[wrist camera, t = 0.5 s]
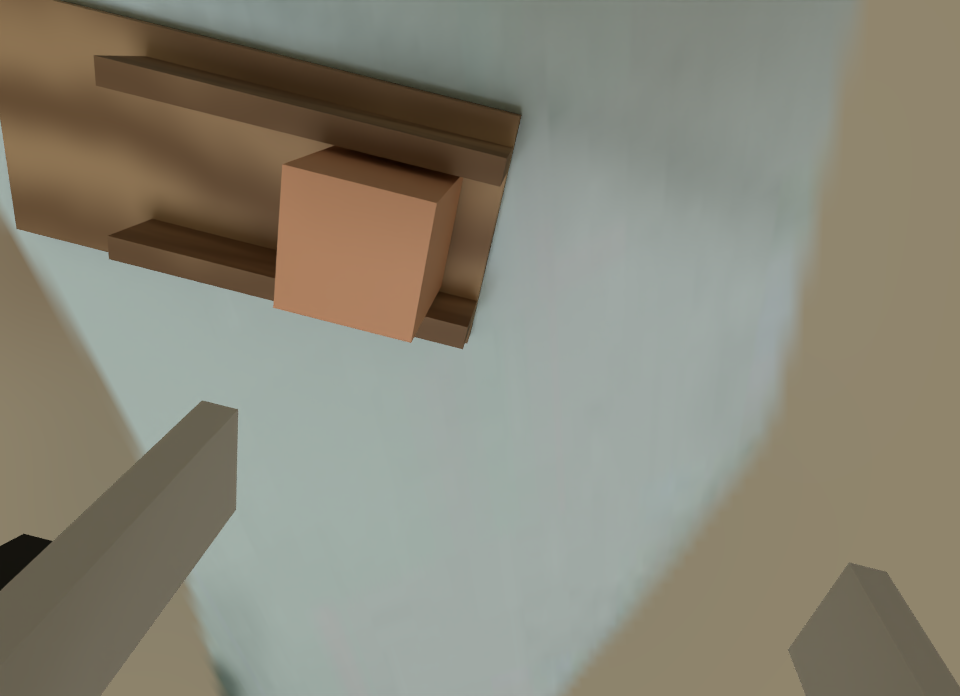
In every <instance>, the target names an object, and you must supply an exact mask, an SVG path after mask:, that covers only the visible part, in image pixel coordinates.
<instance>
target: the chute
mask: <svg viewBox="0 0 960 696" xmlns="http://www.w3.org/2000/svg"><path fill="white" fill-rule="evenodd" d="M0 120H1V127H2V133H3V140H4V147H5V153H6V160H7V167H8V174H9V180H10V187H11V194H12V201H13V207H14V214H15V221H16V228H17V229H20V230H24V231H28V232H31V233H35V234H39V235H43V236H47V237H51V238H55V239H59V240H63V241H67V242H71V243H75V244H79V245H82V246H86V247H90V248H94V249H98V250H102V251H106V252H109V259H111V260H115V261H119V262H123V263H127V264H131V265H135V266H139V267H143V268H146V269H150V270H154V271H158V272H162V273H166V274H170V275H174V276H178V277H182V278H186V279H190V280H194V281H197V282H201V283H205V284H209V285H213V286H217V287H221V288H225V289H229V290H233V291H237V292H241V293H245V294H248V295H252V296H256V297H260V298H264V299H268V300H272V301H274V290H275V274H276V257H277V241H278V225H279V209H280V192H281V176H282V164H284V163H287V162H290V161H293V160H295V159H298V158H301V157H304V156H307V155H309V154H312V153H315V152H318V151H320V150H323V149H326V148H329V147H331V146H334V145H335V146H339V147H343V148H347V149H351V150H355V151H359V152H363V153H367V154H371V155H375V156H379V157H383V158H387V159H391V160H395V161H399V162H403V163H407V164H411V165H415V166H419V167H423V168H427V169H431V170H435V171H439V172H443V173H447V174H451V175H455V176H459V177H463V181H462V186H461V191H460V196H459V201H458V206H457V211H456V216H455V221H454V226H453V231H452V236H451V241H450V246H449V251H448V256H447V261H446V266H445V271H444V276H443V281H442V286H441V288H440V290H439V292H438V293H437V295H436V297H435V299H434V301H433V303H432V305H431V306H430V308H429V310H428V312H427V314H426V316H425V318H424V319H423V321H422V323H421V325H420V327H419V329H418V331H417V332H416V334H415V336H414V337H417V338H421V339H425V340H429V341H433V342H437V343H441V344H445V345H449V346H452V347H456V348H460V349H463V347H464V344H465V343H467V342H468V339H469V336H470V332H471V328H472V324H473V319H474V315H475V311H476V307H477V302H478V298H479V294H480V290H481V285H482V281H483V277H484V273H485V268H486V264H487V260H488V256H489V251H490V247H491V243H492V239H493V234H494V230H495V226H496V222H497V217H498V213H499V209H500V205H501V200H502V196H503V192H504V188H505V183H506V179H507V175H508V171H509V166H510V162H511V158H512V154H513V149H514V145H515V141H516V137H517V132H518V128H519V124H520V120H521V115H520V114H516V113H512V112H508V111H504V110H500V109H496V108H492V107H488V106H484V105H480V104H476V103H472V102H468V101H463V100H459V99H455V98H451V97H447V96H443V95H439V94H435V93H431V92H427V91H423V90H419V89H415V88H411V87H407V86H403V85H399V84H395V83H391V82H387V81H383V80H379V79H375V78H371V77H367V76H363V75H359V74H355V73H351V72H347V71H343V70H339V69H335V68H331V67H327V66H323V65H319V64H315V63H311V62H307V61H302V60H298V59H294V58H290V57H286V56H282V55H278V54H274V53H270V52H266V51H262V50H258V49H254V48H250V47H246V46H242V45H238V44H234V43H230V42H226V41H222V40H218V39H214V38H210V37H206V36H202V35H198V34H194V33H190V32H186V31H182V30H178V29H174V28H170V27H166V26H162V25H158V24H154V23H150V22H146V21H141V20H137V19H133V18H129V17H125V16H121V15H117V14H113V13H109V12H105V11H101V10H97V9H93V8H89V7H85V6H81V5H77V4H73V3H69V2H65V1H61V0H0Z"/></svg>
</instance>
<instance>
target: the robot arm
mask: <svg viewBox="0 0 960 696" xmlns="http://www.w3.org/2000/svg"><path fill="white" fill-rule="evenodd" d="M237 435H238V409H234V408H230V407H226V406H222V405H218V404H214V403H210V402H206V401H201V402H200V403H199V404H198V405H197V406H196V407H195V408H194V409H193V410H191V411H190V412H189V413H188V414H187V415H186V416H185V417H184V418H183V419H182V420H181V421H180V422H179V423H178V424H177V425H176V426H174V427H173V428H172V429H171V430H170V431H169V432H168V433H167V434H166V435H165V436H164V437H163V438H162V439H161V440H160V441H159V442H158V443H156V444H155V445H154V446H153V447H152V448H151V449H150V450H149V451H148V452H147V453H146V454H145V455H144V456H143V457H142V458H141V459H140V460H138V461H137V462H136V463H135V464H134V465H133V466H132V467H131V468H130V469H129V470H128V471H127V472H126V473H125V474H124V475H123V476H122V477H120V478H119V479H118V480H117V481H116V482H115V483H114V484H113V485H112V486H111V487H110V488H109V489H108V490H107V491H106V492H105V493H103V494H102V495H101V496H100V497H99V498H98V499H97V500H96V501H95V502H94V503H93V504H92V505H91V506H90V507H89V508H88V509H86V510H85V511H84V512H83V513H82V514H81V515H80V516H79V517H78V518H77V519H76V520H75V521H74V522H73V523H72V524H71V525H70V526H69V527H67V528H66V530H64V531H63V532H62V533H61V534H60V535H59V536H58V537H57V538H56V539H55V540H54V541H50V540H46V539H42V538H38V537H34V536H30V535H26V534H23V535H21V536H19V537H17V538H15V539H13V540H11V541H9V542H7V543H5V544H3V545H1V546H0V696H101V694H102V693H103V691H104V690H105V689H106V687H107V686H108V685H109V683H110V682H111V680H112V679H113V678H114V676H115V675H116V674H117V672H118V671H119V670H120V668H121V667H122V665H123V664H124V663H125V661H126V660H127V658H128V657H129V656H130V654H131V653H132V652H133V650H134V649H135V648H136V646H137V645H138V643H139V642H140V641H141V639H142V638H143V637H144V635H145V634H146V632H147V631H148V630H149V628H150V627H151V626H152V624H153V623H154V621H155V620H156V619H157V617H158V616H159V615H160V613H161V612H162V610H163V609H164V608H165V606H166V605H167V604H168V602H169V601H170V599H171V598H172V597H173V595H174V594H175V593H176V591H177V590H178V588H179V587H180V586H181V584H182V583H183V582H184V580H185V579H186V577H187V576H188V575H189V573H190V572H191V571H192V569H193V568H194V566H195V565H196V564H197V562H198V561H199V560H200V558H201V557H202V555H203V554H204V553H205V551H206V550H207V549H208V547H209V546H210V544H211V543H212V542H213V540H214V539H215V538H216V536H217V535H218V533H219V532H220V531H221V529H222V528H223V527H224V525H225V524H226V522H227V521H228V520H229V518H230V517H231V516H232V514H233V513H234V511H235V510H236V481H237ZM788 651H789V653H790V655H791V658H792V661H793V663H794V666H795V669H796V671H797V674H798V677H799V679H800V682H801V684H802V687H803V690H804V692H805V695H806V696H960V687H959V685H958V684H957V682H956V681H955V679H954V677H953V676H952V674H951V673H950V671H949V669H948V668H947V666H946V665H945V663H944V661H943V660H942V658H941V657H940V655H939V654H938V652H937V651H936V649H935V647H934V646H933V644H932V643H931V641H930V639H929V638H928V636H927V635H926V633H925V632H924V630H923V629H922V627H921V625H920V624H919V622H918V621H917V619H916V617H915V616H914V614H913V613H912V611H911V610H910V608H909V606H908V605H907V603H906V602H905V600H904V599H903V597H902V595H901V594H900V592H899V591H898V589H897V588H896V586H895V584H894V583H893V581H892V580H891V578H890V577H889V575H888V573H887V572H884V571H881V570H876V569H873V568H868V567H865V566H861V565H857V564H853V563H848V565H847V566H846V568H845V569H844V571H843V572H842V573H841V575H840V576H839V578H838V579H837V580H836V582H835V583H834V585H833V586H832V588H831V589H830V591H829V592H828V593H827V595H826V596H825V598H824V599H823V601H822V602H821V604H820V605H819V606H818V608H817V609H816V611H815V612H814V613H813V615H812V616H811V618H810V619H809V621H808V622H807V623H806V625H805V627H804V628H803V629H802V631H801V632H800V633H799V635H798V636H797V638H796V639H795V641H794V642H793V643H792V645H791V646H790V648H789V649H788Z"/></svg>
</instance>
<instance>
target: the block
mask: <svg viewBox="0 0 960 696" xmlns="http://www.w3.org/2000/svg"><path fill="white" fill-rule="evenodd" d="M462 181H463V177H459V176H455V175H451V174H447V173H443V172H439V171H435V170H431V169H427V168H423V167H419V166H415V165H411V164H407V163H403V162H399V161H395V160H391V159H387V158H383V157H379V156H375V155H371V154H367V153H363V152H359V151H355V150H351V149H347V148H343V147H339V146H335V145H334V146H331V147H329V148H326V149H323V150H320V151H318V152H315V153H312V154H309V155H307V156H304V157H301V158H298V159H295V160H293V161H290V162H287V163H284V164H282V176H281V192H280V209H279V225H278V241H277V257H276V274H275V290H274V306H273V308H277V309H281V310H285V311H289V312H293V313H296V314H300V315H304V316H308V317H312V318H316V319H320V320H324V321H328V322H332V323H336V324H340V325H344V326H347V327H351V328H355V329H359V330H363V331H367V332H371V333H375V334H379V335H383V336H387V337H391V338H394V339H398V340H402V341H406V342H410V343H411V342H412V340H413V338H414V336H415V334H416V332H417V331H418V329H419V327H420V325H421V323H422V321H423V319H424V318H425V316H426V314H427V312H428V310H429V308H430V306H431V305H432V303H433V301H434V299H435V297H436V295H437V293H438V292H439V290H440V288H441V286H442V281H443V276H444V271H445V266H446V261H447V256H448V251H449V246H450V241H451V236H452V231H453V226H454V221H455V216H456V211H457V206H458V201H459V196H460V191H461V186H462Z"/></svg>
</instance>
